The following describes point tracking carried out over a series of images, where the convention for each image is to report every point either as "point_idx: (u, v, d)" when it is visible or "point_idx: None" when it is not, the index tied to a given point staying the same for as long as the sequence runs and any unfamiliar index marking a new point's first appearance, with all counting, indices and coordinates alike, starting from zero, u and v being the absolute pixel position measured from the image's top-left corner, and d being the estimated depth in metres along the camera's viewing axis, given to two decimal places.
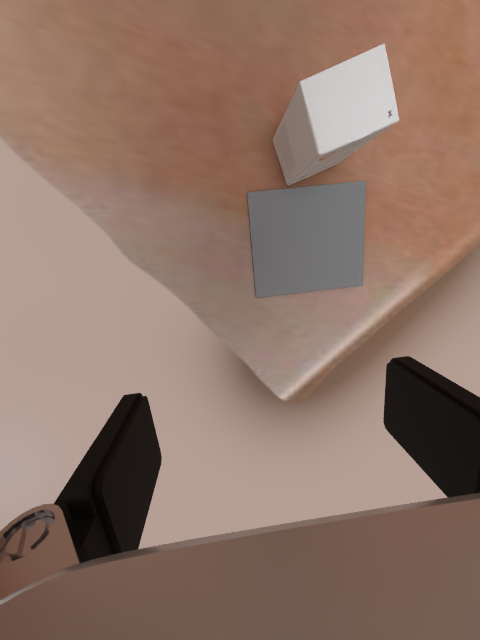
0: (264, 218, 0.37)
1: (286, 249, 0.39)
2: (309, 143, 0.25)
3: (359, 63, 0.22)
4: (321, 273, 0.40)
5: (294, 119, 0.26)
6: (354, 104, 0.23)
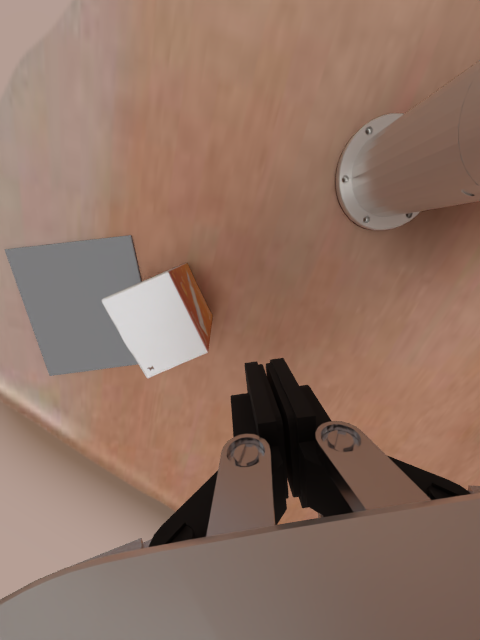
0: (105, 257, 0.32)
1: (74, 285, 0.33)
2: None
3: (189, 331, 0.22)
4: (53, 328, 0.34)
5: None
6: (153, 331, 0.22)
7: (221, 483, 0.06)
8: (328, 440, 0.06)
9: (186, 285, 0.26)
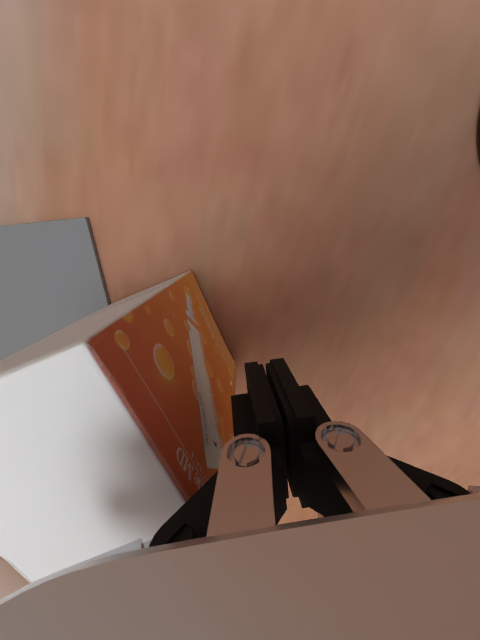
0: (39, 259, 0.17)
1: None
2: None
3: (168, 518, 0.07)
4: None
5: (98, 319, 0.09)
6: (56, 517, 0.07)
7: (221, 483, 0.06)
8: (328, 440, 0.06)
9: (177, 339, 0.10)
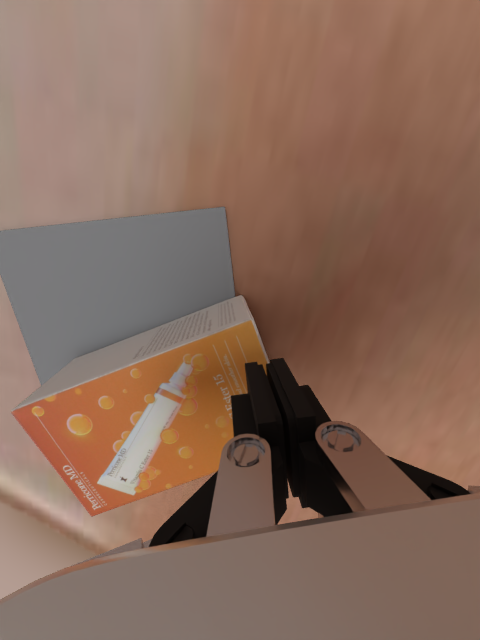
0: (175, 248, 0.17)
1: (115, 299, 0.18)
2: (80, 360, 0.17)
3: None
4: None
5: (85, 371, 0.14)
6: None
7: (221, 483, 0.06)
8: (328, 440, 0.06)
9: (114, 411, 0.13)
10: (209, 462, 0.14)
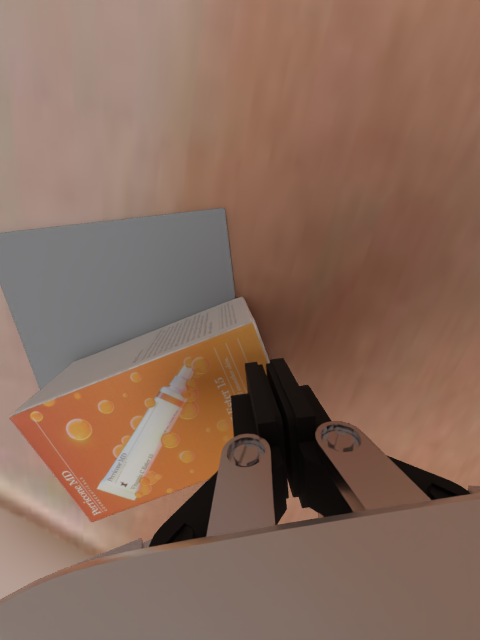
0: (174, 250, 0.17)
1: (114, 302, 0.18)
2: (79, 363, 0.17)
3: None
4: None
5: (84, 375, 0.14)
6: None
7: (221, 483, 0.06)
8: (328, 440, 0.06)
9: (114, 415, 0.13)
10: (210, 466, 0.14)
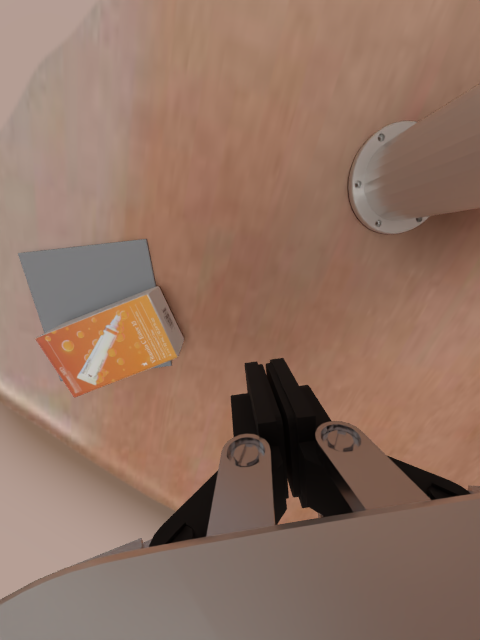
0: (120, 261, 0.32)
1: (88, 289, 0.32)
2: (69, 321, 0.32)
3: None
4: None
5: (70, 322, 0.29)
6: None
7: (221, 483, 0.06)
8: (328, 440, 0.06)
9: (84, 339, 0.28)
10: (133, 367, 0.29)
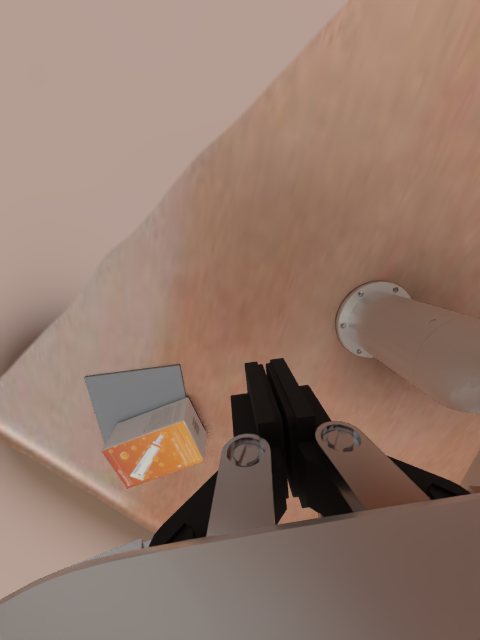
0: (159, 380, 0.42)
1: (134, 399, 0.43)
2: (120, 426, 0.42)
3: None
4: None
5: (125, 435, 0.39)
6: None
7: (221, 483, 0.06)
8: (328, 440, 0.06)
9: (136, 450, 0.38)
10: (171, 468, 0.39)
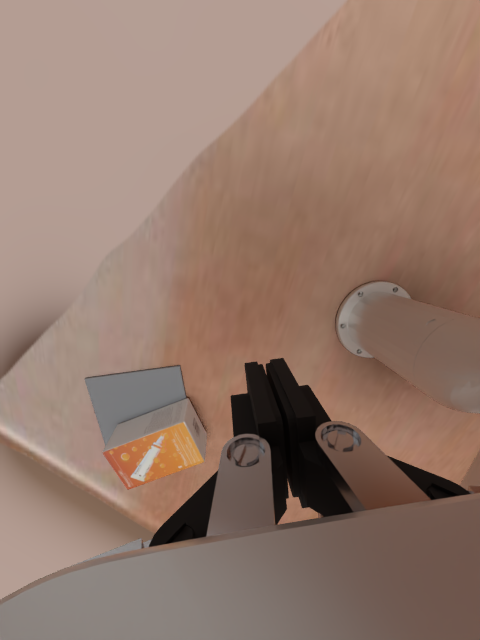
0: (159, 381, 0.42)
1: (134, 401, 0.43)
2: (121, 427, 0.42)
3: None
4: None
5: (126, 436, 0.39)
6: None
7: (221, 483, 0.06)
8: (328, 440, 0.06)
9: (137, 451, 0.38)
10: (171, 469, 0.39)
